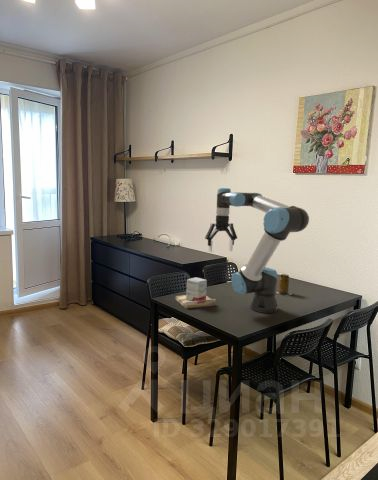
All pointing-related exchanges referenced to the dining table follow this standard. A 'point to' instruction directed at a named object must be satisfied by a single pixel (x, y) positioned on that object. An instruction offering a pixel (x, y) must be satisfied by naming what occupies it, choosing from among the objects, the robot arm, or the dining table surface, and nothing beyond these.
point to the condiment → (284, 285)
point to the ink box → (196, 289)
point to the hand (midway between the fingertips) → (220, 251)
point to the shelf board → (195, 302)
